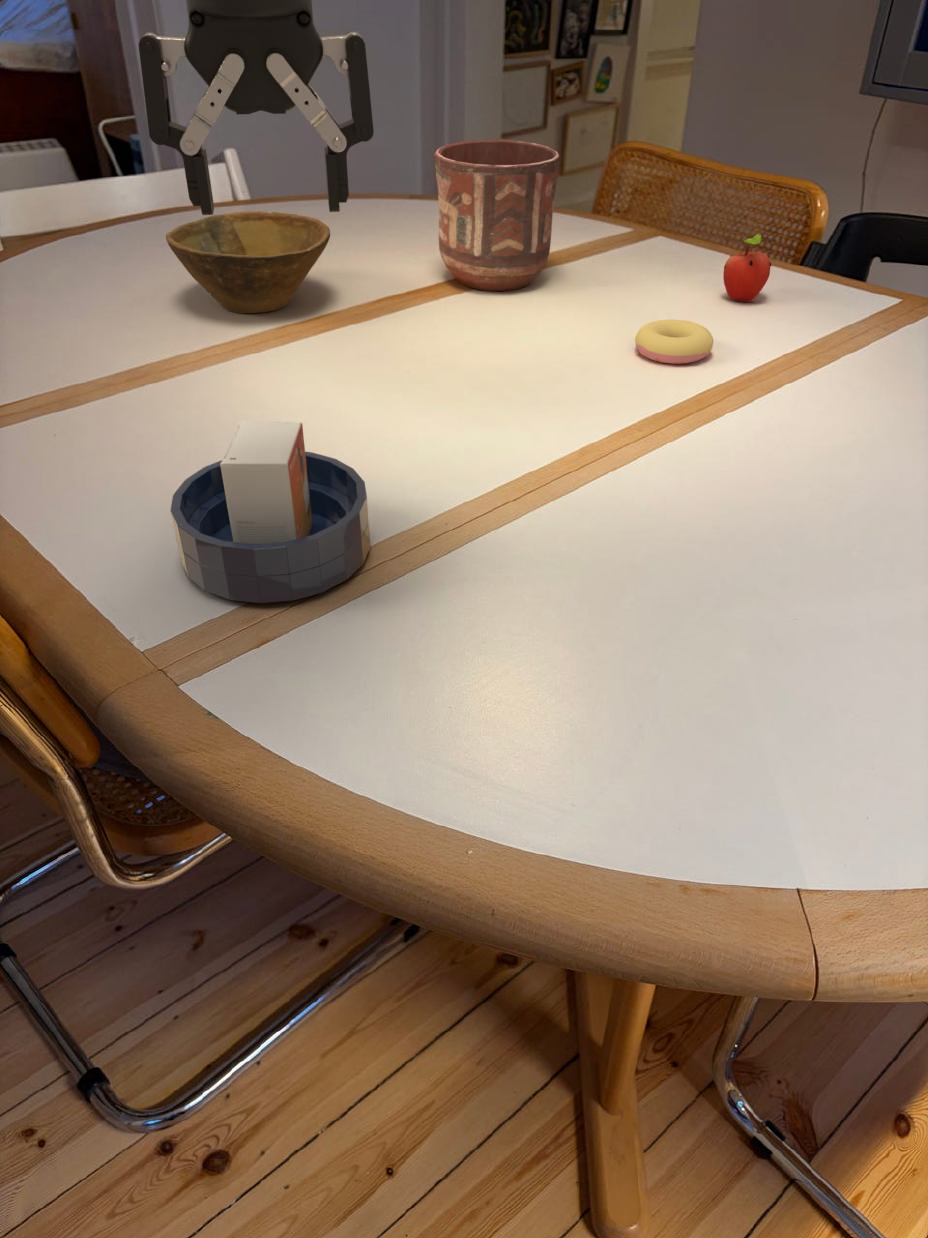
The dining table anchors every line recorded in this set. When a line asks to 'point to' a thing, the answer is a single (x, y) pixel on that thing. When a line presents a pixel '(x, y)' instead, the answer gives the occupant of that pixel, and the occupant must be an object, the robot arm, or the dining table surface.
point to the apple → (746, 273)
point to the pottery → (495, 211)
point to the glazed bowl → (279, 565)
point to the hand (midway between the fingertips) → (272, 210)
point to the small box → (267, 483)
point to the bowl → (250, 256)
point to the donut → (674, 341)
